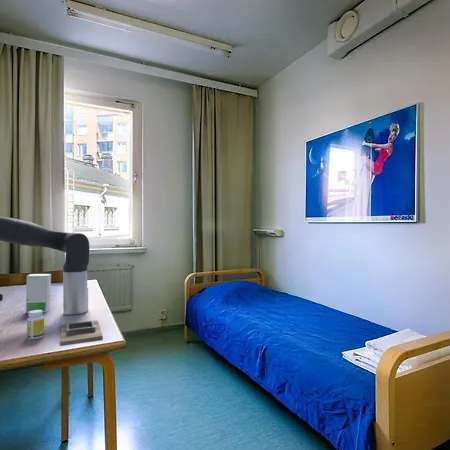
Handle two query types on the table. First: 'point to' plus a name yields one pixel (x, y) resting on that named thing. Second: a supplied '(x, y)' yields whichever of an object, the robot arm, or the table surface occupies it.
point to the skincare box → (38, 292)
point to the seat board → (80, 332)
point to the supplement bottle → (35, 324)
